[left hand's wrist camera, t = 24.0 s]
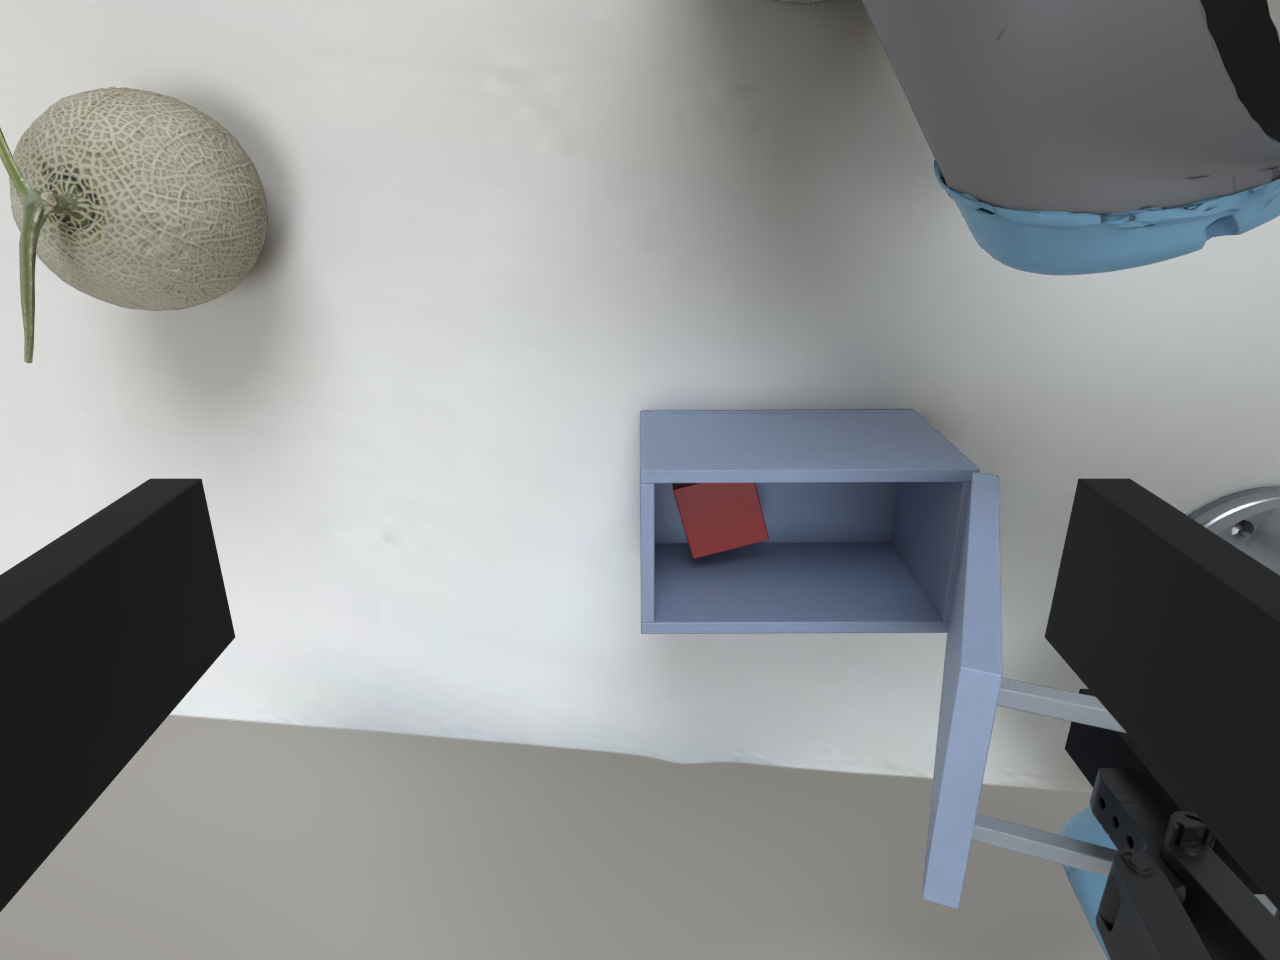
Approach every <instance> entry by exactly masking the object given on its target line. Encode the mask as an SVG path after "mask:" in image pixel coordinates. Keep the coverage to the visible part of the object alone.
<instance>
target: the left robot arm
mask: <svg viewBox="0 0 1280 960" xmlns="http://www.w3.org/2000/svg"><path fill="white" fill-rule="evenodd" d="M778 1H783V2H792V3H813V2H822V1H828V0H778ZM862 2H863V4H864V6H865V8H866V11H867V13H868V15H869V17H870V19H871V21H872V24H873V26H874V28H875V30H876V32H877V34H878V36H879V39H880V41H881V43H882V45H883V47H884V49H885V52H886V54H887V56H888V58H889V60H890V62H891V64H892V67H893V69H894V71H895V73H896V75H897V77H898V80H899V82H900V84H901V86H902V88H903V90H904V92H905V95H906V97H907V99H908V101H909V103H910V105H911V108H912V110H913V112H914V114H915V116H916V118H917V120H918V123H919V125H920V127H921V129H922V131H923V133H924V136H925V138H926V140H927V142H928V144H929V146H930V148H931V151H932V153H933V155H934V157H935V161H934V169H935V173H936V177H937V179H938V181H939V184H940V185H941V187H942V188H943V189H945V190H946V192H947V194H948V195H949V196H950V197H951V198H952V199H954V200H955V202H956V204H957V206H958V208H959V209H960V211H961V213H962V215H963V217H964V219H965V221H966V223H967V225H968V227H969V229H970V230H971V232H972V234H973V236H974V238H975V239H976V241H977V243H978V244H979V245H980V246H981V248H983V249H984V250H985V251H987V252H988V253H989V254H990V255H991V256H992V257H993V258H994V259H996V260H998V261H1000V262H1001V263H1003V264H1004V265H1006V266H1009V267H1012V268H1015V269H1018V270H1022V271H1026V272H1031V273H1037V274H1046V275H1080V274H1092V273H1102V272H1111V271H1117V270H1122V269H1128V268H1135V267H1139V266H1144V265H1149V264H1153V263H1157V262H1161V261H1165V260H1168V259H1172V258H1175V257H1179V256H1182V255H1185V254H1188V253H1191V252H1194V251H1197V250H1200V249H1202V248H1203V246H1204V244H1205V242H1206V241H1207V240H1208V239H1210V238H1211V237H1216V236H1223V235H1239V234H1242V233H1244V232H1247V231H1249V230H1251V229H1253V228H1255V227H1258V226H1260V225H1262V224H1264V223H1266V222H1268V221H1270V220H1272V219H1274V218H1276V217H1277V216H1279V215H1280V0H862ZM234 638H235V634H234V629H233V624H232V620H231V615H230V610H229V606H228V601H227V596H226V592H225V587H224V582H223V577H222V573H221V568H220V563H219V559H218V554H217V549H216V545H215V540H214V535H213V530H212V526H211V521H210V516H209V512H208V507H207V502H206V498H205V493H204V488H203V484H202V479H149V480H148V481H146V482H145V483H143V484H141V485H140V486H138V487H137V488H135V489H134V490H132V491H131V492H129V493H127V494H126V495H124V496H123V497H121V498H120V499H118V500H117V501H115V502H113V503H112V504H110V505H109V506H107V507H106V508H104V509H103V510H101V511H99V512H98V513H96V514H95V515H93V516H92V517H90V518H89V519H87V520H85V521H84V522H82V523H81V524H79V525H78V526H76V527H75V528H73V529H71V530H70V531H68V532H67V533H65V534H64V535H62V536H61V537H59V538H58V539H56V540H54V541H53V542H51V543H50V544H48V545H47V546H45V547H44V548H42V549H40V550H39V551H37V552H36V553H34V554H33V555H31V556H30V557H28V558H26V559H25V560H23V561H22V562H20V563H19V564H17V565H16V566H14V567H12V568H11V569H9V570H8V571H6V572H5V573H3V574H2V575H0V912H1V911H2V909H3V908H4V907H5V906H6V905H7V904H8V902H9V901H10V900H11V899H12V898H13V897H14V895H15V894H16V893H17V892H18V891H19V890H20V888H21V887H22V886H23V885H24V884H25V883H26V881H27V880H28V879H29V878H30V877H31V876H32V874H33V873H34V872H35V871H36V870H37V868H38V867H39V866H40V865H41V864H42V863H43V861H44V860H45V859H46V858H47V857H48V856H49V854H50V853H51V852H52V851H53V850H54V849H55V847H56V846H57V845H58V844H59V843H60V842H61V840H62V839H63V838H64V837H65V836H66V834H67V833H68V832H69V831H70V830H71V829H72V828H73V826H74V825H75V824H76V823H77V822H78V821H79V819H80V818H81V817H82V816H83V815H84V814H85V812H86V811H87V810H88V809H89V808H90V806H91V805H92V804H93V803H94V802H95V801H96V799H97V798H98V797H99V796H100V795H101V794H102V792H103V791H104V790H105V789H106V788H107V787H108V785H109V784H110V783H111V782H112V781H113V780H114V778H115V777H116V776H117V775H118V774H119V773H120V771H121V770H122V769H123V768H124V767H125V766H126V764H127V763H128V762H129V761H130V760H131V759H132V757H133V756H134V755H135V754H136V753H137V752H138V750H139V749H140V748H141V747H142V746H143V744H144V743H145V742H146V741H147V740H148V739H149V737H150V736H151V735H152V734H153V733H154V732H155V730H156V729H157V728H158V727H159V726H160V725H161V723H162V722H163V721H164V720H165V719H166V718H167V716H168V715H169V714H170V713H171V712H172V711H173V709H174V708H175V707H176V706H177V705H178V704H179V702H180V701H181V700H182V699H183V698H184V697H185V695H186V694H187V693H188V692H189V691H190V690H191V688H192V687H193V686H194V685H195V684H196V682H197V681H198V680H199V679H200V678H201V677H202V675H203V674H204V673H205V672H206V671H207V670H208V668H209V667H210V666H211V665H212V664H213V663H214V661H215V660H216V659H217V658H218V657H219V656H220V654H221V653H222V652H223V651H224V650H225V649H226V647H227V646H228V645H229V644H230V643H231V642H232V640H233V639H234ZM1045 638H1046V639H1047V640H1048V642H1049V643H1050V644H1051V645H1052V646H1053V647H1054V649H1055V650H1056V651H1057V652H1058V653H1059V654H1060V656H1061V657H1062V658H1063V659H1064V660H1065V661H1066V663H1067V664H1068V665H1069V666H1070V667H1071V668H1072V670H1073V671H1074V672H1075V673H1076V674H1077V675H1078V677H1079V678H1080V679H1081V680H1082V681H1083V682H1084V684H1085V685H1086V686H1087V687H1088V688H1089V690H1090V691H1091V692H1092V693H1093V694H1094V695H1095V697H1096V698H1097V699H1098V700H1099V701H1100V702H1101V704H1102V705H1103V706H1104V707H1105V708H1106V709H1107V711H1108V712H1109V713H1110V714H1111V715H1112V716H1113V718H1114V719H1115V720H1116V721H1117V722H1118V723H1119V725H1120V726H1121V727H1122V728H1123V729H1124V730H1125V732H1126V733H1127V734H1128V735H1129V736H1130V737H1131V739H1132V740H1133V741H1134V742H1135V743H1136V744H1137V746H1138V747H1139V748H1140V749H1141V750H1142V752H1143V753H1144V754H1145V755H1146V756H1147V757H1148V759H1149V760H1150V761H1151V762H1152V763H1153V764H1154V766H1155V767H1156V768H1157V769H1158V770H1159V771H1160V773H1161V774H1162V775H1163V776H1164V777H1165V778H1166V780H1167V781H1168V782H1169V783H1170V784H1171V785H1172V787H1173V788H1174V789H1175V790H1176V791H1177V792H1178V794H1179V795H1180V796H1181V797H1182V798H1183V799H1184V801H1185V802H1186V803H1187V804H1188V805H1189V807H1190V808H1191V809H1192V810H1193V811H1194V812H1195V814H1196V815H1197V816H1198V817H1199V818H1200V819H1201V821H1202V822H1203V823H1204V824H1205V825H1206V826H1207V828H1208V829H1209V830H1210V831H1211V832H1212V833H1213V835H1214V836H1215V837H1216V838H1217V839H1218V840H1219V842H1220V843H1221V844H1222V845H1223V846H1224V847H1225V849H1226V850H1227V851H1228V852H1229V853H1230V854H1231V856H1232V857H1233V858H1234V859H1235V860H1236V861H1237V863H1238V864H1239V865H1240V866H1241V867H1242V869H1243V870H1244V871H1245V872H1246V873H1247V874H1248V876H1249V877H1250V878H1251V879H1252V880H1253V881H1254V883H1255V884H1256V885H1257V886H1258V887H1259V888H1260V890H1261V891H1262V892H1263V893H1264V894H1265V895H1266V897H1267V898H1268V899H1269V900H1270V901H1271V902H1272V904H1273V905H1274V906H1275V907H1276V908H1277V909H1278V911H1279V912H1280V575H1278V574H1277V573H1275V572H1274V571H1272V570H1271V569H1269V568H1268V567H1266V566H1264V565H1263V564H1261V563H1260V562H1258V561H1257V560H1255V559H1254V558H1252V557H1250V556H1249V555H1247V554H1246V553H1244V552H1243V551H1241V550H1240V549H1238V548H1236V547H1235V546H1233V545H1232V544H1230V543H1229V542H1227V541H1226V540H1224V539H1222V538H1221V537H1219V536H1218V535H1216V534H1215V533H1213V532H1212V531H1210V530H1209V529H1207V528H1205V527H1204V526H1202V525H1201V524H1199V523H1198V522H1196V521H1195V520H1193V519H1191V518H1190V517H1188V516H1187V515H1185V514H1184V513H1182V512H1181V511H1179V510H1177V509H1176V508H1174V507H1173V506H1171V505H1170V504H1168V503H1167V502H1165V501H1163V500H1162V499H1160V498H1159V497H1157V496H1156V495H1154V494H1153V493H1151V492H1149V491H1148V490H1146V489H1145V488H1143V487H1142V486H1140V485H1139V484H1137V483H1135V482H1134V481H1132V480H1131V479H1078V484H1077V488H1076V493H1075V498H1074V502H1073V507H1072V512H1071V516H1070V521H1069V526H1068V530H1067V535H1066V540H1065V545H1064V549H1063V554H1062V559H1061V563H1060V568H1059V573H1058V577H1057V582H1056V587H1055V592H1054V596H1053V601H1052V606H1051V610H1050V615H1049V620H1048V624H1047V629H1046V634H1045Z"/></svg>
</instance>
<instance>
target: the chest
mask: <svg viewBox="0 0 1280 960" xmlns="http://www.w3.org/2000/svg"><path fill="white" fill-rule="evenodd" d="M979 471H980V469H979V468H978V467H977V466H976V465H975V464H974V463H972V462H971V461H970V460H969V459H968V458H967V457H966V456H965V455H964V454H962V453H961V452H960V451H959V450H958V449H957V448H956V447H955V446H954V445H952V444H951V443H950V442H949V441H948V440H947V439H946V438H945V437H944V436H942V435H941V434H940V433H939V432H938V431H937V430H936V429H935V428H934V427H932V426H931V425H930V424H929V423H928V422H927V421H926V420H925V419H924V418H922V417H921V416H920V415H919V414H918V413H917V412H916V411H914V410H715V411H641V412H640V526H641V633H642V634H693V633H948V627H949V621H950V614H951V608H952V602H953V595H954V589H955V582H956V576H957V569H958V563H959V556H960V550H961V543H962V537H963V531H964V524H965V518H966V511H967V505H968V498H969V492H970V485H971V479H972V473H973V472H974V473H979ZM672 483H755V485H756V489H757V493H758V497H759V501H760V505H761V509H762V512H763V516H764V520H765V524H766V528H767V532H768V536H769V540H766V541H762V542H758V543H754V544H750V545H746V546H742V547H738V548H735V549H731V550H727V551H723V552H719V553H715V554H711V555H707V556H703V557H699V558H695V559H693V557H692V554H691V550H690V547H689V543H688V540H687V537H686V533H685V530H684V526H683V523H682V519H681V516H680V513H679V509H678V506H677V502H676V499H675V496H674V492H673V485H672Z"/></svg>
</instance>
